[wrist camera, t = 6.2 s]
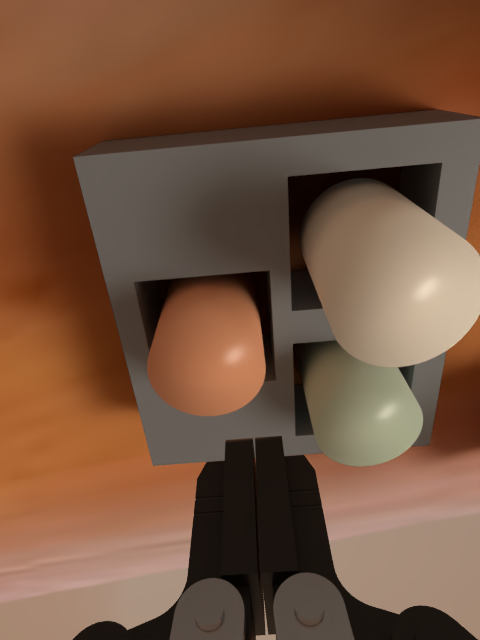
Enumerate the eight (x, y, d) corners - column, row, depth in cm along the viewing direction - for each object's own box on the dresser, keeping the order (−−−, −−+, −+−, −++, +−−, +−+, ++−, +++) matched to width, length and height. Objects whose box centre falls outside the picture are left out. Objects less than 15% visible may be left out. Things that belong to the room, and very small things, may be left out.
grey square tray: (437, 109, 18) (487, 118, 15) (402, 394, 25) (429, 444, 22) (103, 141, 18) (72, 156, 15) (163, 412, 26) (153, 465, 22)
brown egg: (254, 252, 20) (261, 314, 15) (260, 333, 22) (268, 411, 17) (160, 260, 20) (136, 324, 15) (175, 340, 23) (158, 420, 17)
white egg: (415, 173, 16) (502, 219, 11) (404, 280, 19) (471, 361, 13) (298, 183, 16) (329, 234, 11) (300, 288, 19) (326, 372, 13)
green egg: (382, 307, 22) (429, 381, 17) (376, 377, 24) (416, 462, 19) (294, 314, 22) (314, 390, 17) (296, 384, 24) (314, 469, 19)
